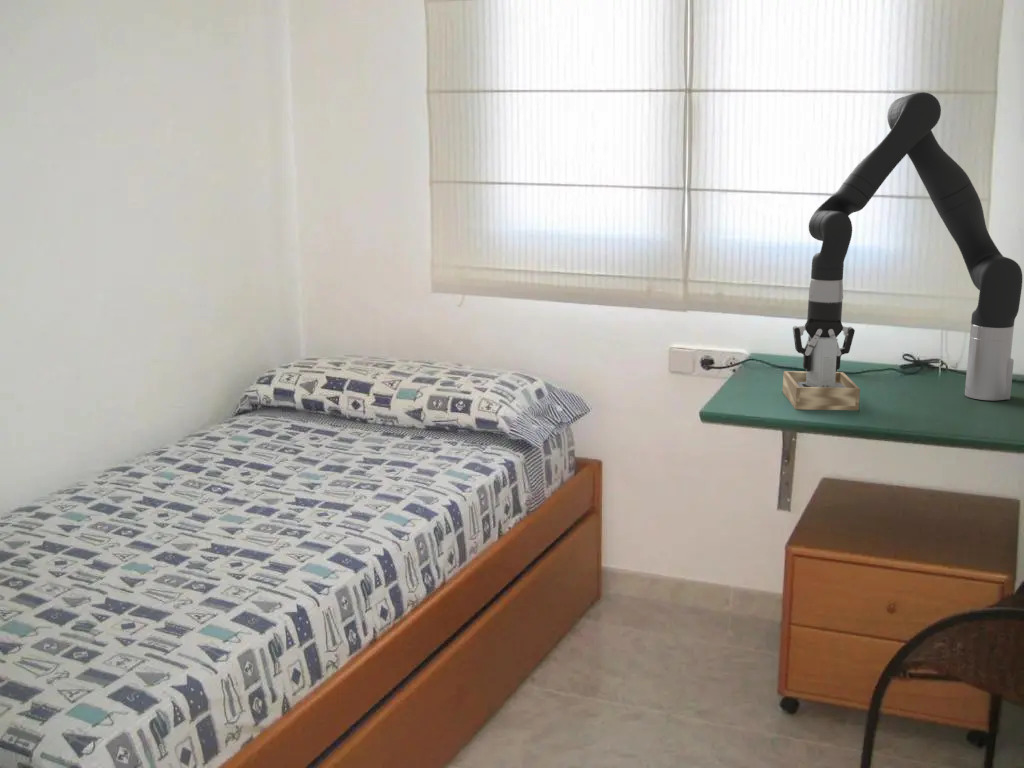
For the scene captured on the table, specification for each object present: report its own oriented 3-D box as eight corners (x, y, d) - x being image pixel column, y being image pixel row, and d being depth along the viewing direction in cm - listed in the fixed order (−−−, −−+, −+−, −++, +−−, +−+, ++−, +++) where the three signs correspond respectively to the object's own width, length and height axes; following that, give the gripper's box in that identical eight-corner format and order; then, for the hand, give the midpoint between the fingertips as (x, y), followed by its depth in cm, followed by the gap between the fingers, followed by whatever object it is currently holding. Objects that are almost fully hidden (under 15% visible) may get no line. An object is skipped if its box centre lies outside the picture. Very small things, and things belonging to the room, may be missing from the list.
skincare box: (835, 390, 258) (840, 338, 256) (818, 391, 257) (823, 339, 254) (820, 384, 264) (824, 333, 261) (803, 385, 262) (807, 334, 260)
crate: (841, 392, 269) (842, 372, 268) (858, 410, 252) (860, 388, 250) (782, 391, 270) (783, 371, 269) (795, 409, 253) (796, 387, 251)
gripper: (854, 296, 259) (849, 368, 262) (790, 296, 260) (786, 367, 264) (861, 301, 252) (856, 375, 255) (796, 300, 253) (792, 373, 256)
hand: (820, 370), depth 259 cm, fingers closed on skincare box, 5 cm apart
